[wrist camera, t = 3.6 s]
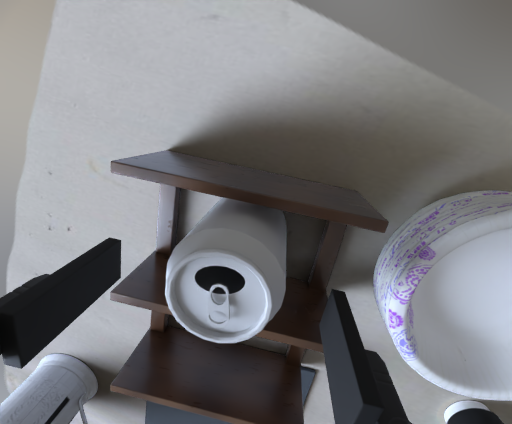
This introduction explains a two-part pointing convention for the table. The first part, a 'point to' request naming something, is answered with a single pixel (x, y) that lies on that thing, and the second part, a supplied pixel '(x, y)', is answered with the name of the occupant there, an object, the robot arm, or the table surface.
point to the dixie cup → (470, 413)
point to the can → (229, 272)
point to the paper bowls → (453, 293)
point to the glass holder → (51, 393)
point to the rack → (278, 329)
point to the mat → (176, 420)
